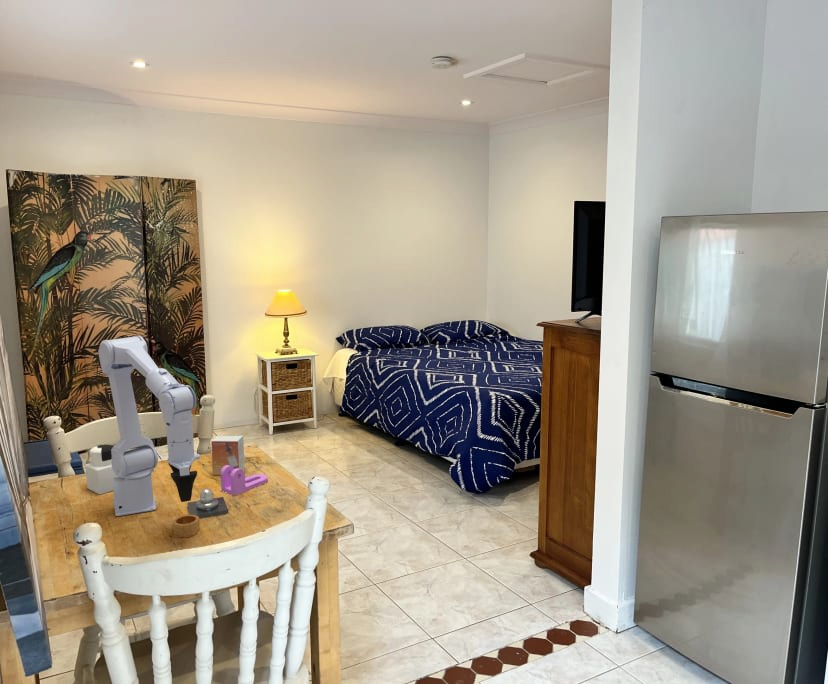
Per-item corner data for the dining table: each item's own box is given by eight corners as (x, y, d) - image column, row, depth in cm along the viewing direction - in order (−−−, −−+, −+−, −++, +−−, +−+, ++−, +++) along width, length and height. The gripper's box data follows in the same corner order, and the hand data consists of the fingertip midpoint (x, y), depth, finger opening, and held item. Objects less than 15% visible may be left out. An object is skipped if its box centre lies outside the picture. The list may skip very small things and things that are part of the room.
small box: (212, 475, 195) (210, 440, 193) (218, 468, 200) (216, 434, 199) (239, 476, 195) (237, 441, 193) (245, 469, 200) (243, 435, 198)
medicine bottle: (112, 481, 191) (108, 440, 189) (124, 487, 187) (121, 445, 185) (87, 489, 186) (82, 447, 184) (99, 495, 182) (95, 452, 180)
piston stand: (190, 519, 166) (189, 498, 165) (187, 506, 174) (186, 485, 173) (228, 513, 169) (227, 492, 168) (223, 500, 177) (222, 480, 176)
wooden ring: (174, 539, 155) (173, 527, 155) (173, 529, 161) (172, 517, 160) (201, 534, 158) (200, 522, 157) (198, 524, 163) (197, 513, 162)
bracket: (234, 496, 180) (233, 471, 179) (221, 491, 184) (220, 467, 182) (271, 481, 190) (270, 458, 189) (258, 477, 194) (257, 454, 193)
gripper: (201, 445, 150) (205, 503, 153) (195, 428, 163) (198, 481, 166) (168, 450, 147) (172, 508, 150) (164, 432, 161) (168, 486, 163)
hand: (184, 494), depth 158 cm, fingers open, 7 cm apart
